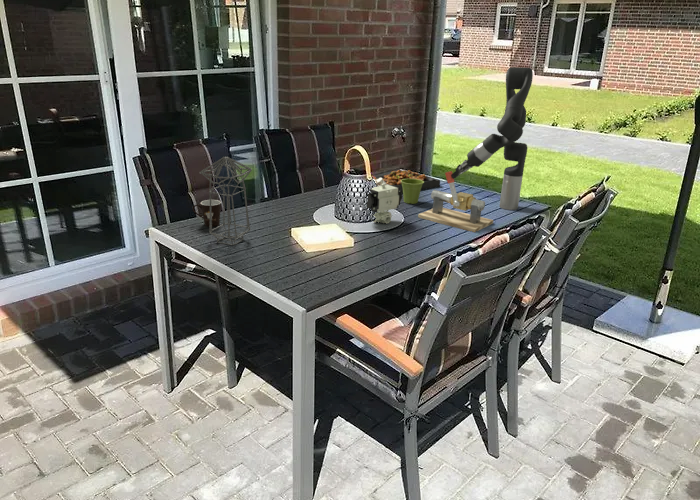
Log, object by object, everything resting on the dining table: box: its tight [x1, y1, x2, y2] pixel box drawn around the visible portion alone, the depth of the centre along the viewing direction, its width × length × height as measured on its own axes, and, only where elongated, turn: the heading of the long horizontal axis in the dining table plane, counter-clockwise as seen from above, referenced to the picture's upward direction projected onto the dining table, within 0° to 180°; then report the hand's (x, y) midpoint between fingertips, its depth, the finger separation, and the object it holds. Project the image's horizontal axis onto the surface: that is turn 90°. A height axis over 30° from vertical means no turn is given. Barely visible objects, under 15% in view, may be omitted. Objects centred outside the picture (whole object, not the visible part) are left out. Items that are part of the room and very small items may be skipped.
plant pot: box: [401, 179, 424, 205], centre depth 283 cm, size 12×12×11 cm
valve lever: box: [444, 170, 460, 207], centre depth 249 cm, size 2×3×16 cm, turn 50°
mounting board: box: [417, 207, 494, 233], centre depth 259 cm, size 18×30×2 cm, turn 50°
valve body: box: [430, 189, 486, 224], centre depth 256 cm, size 8×26×12 cm, turn 50°
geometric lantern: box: [199, 156, 253, 246], centre depth 217 cm, size 16×16×35 cm
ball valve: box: [367, 184, 403, 224], centre depth 250 cm, size 18×8×18 cm, turn 127°
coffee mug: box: [192, 199, 222, 228], centre depth 241 cm, size 12×9×10 cm
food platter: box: [370, 169, 441, 194], centre depth 313 cm, size 45×25×10 cm, turn 124°
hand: (452, 176), depth 247 cm, fingers closed
